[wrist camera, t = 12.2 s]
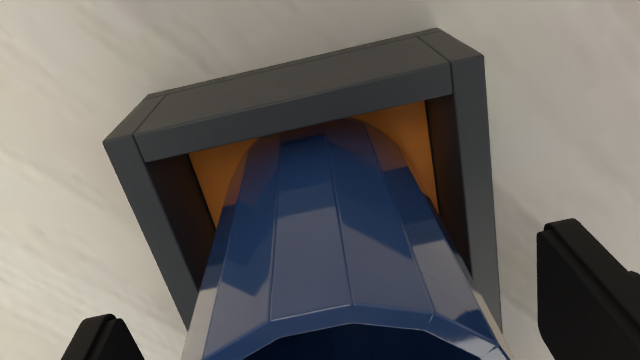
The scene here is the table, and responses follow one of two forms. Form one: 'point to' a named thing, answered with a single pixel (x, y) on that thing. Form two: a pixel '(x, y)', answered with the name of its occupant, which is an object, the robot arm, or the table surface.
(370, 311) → the cup
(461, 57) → the holder
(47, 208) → the table surface
